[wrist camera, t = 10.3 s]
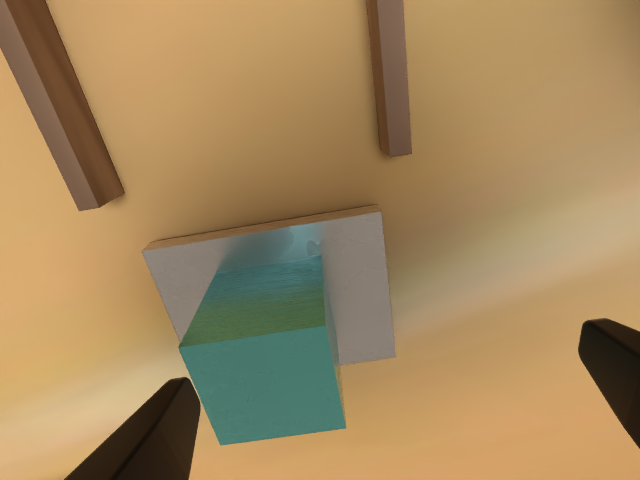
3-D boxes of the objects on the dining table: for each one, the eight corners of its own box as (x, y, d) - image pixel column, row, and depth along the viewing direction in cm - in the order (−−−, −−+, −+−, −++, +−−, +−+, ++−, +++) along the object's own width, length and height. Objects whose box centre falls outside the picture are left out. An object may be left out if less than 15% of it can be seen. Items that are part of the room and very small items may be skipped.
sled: (377, 204, 19) (411, 267, 13) (391, 344, 23) (423, 446, 17) (150, 242, 20) (72, 320, 13) (203, 371, 24) (163, 481, 17)
